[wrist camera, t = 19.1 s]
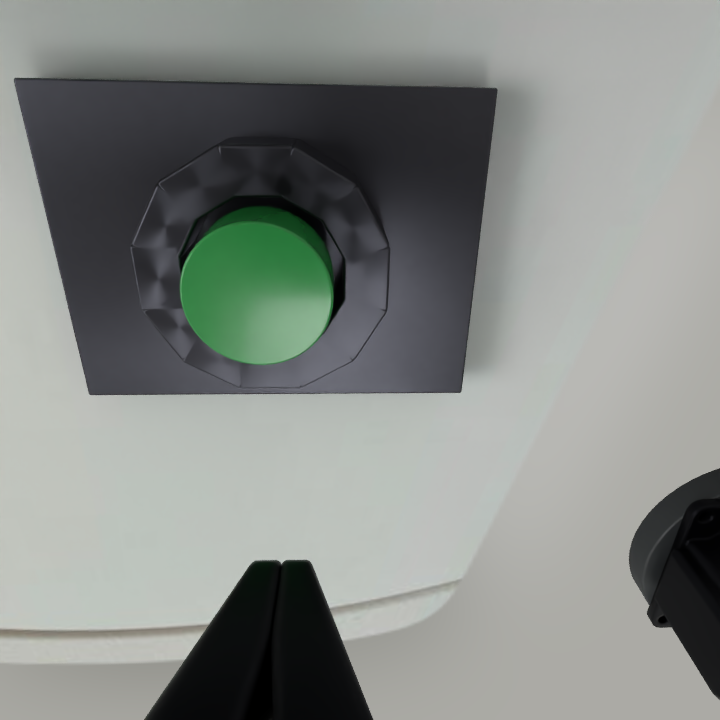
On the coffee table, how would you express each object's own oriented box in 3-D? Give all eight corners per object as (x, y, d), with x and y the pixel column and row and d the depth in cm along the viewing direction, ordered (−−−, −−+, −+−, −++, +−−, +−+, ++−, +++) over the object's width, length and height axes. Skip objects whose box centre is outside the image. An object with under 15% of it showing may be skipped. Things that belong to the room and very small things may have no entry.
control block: (486, 87, 15) (520, 88, 12) (454, 375, 19) (474, 423, 16) (36, 78, 14) (-32, 77, 12) (103, 377, 18) (64, 427, 16)
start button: (333, 206, 14) (333, 222, 12) (333, 336, 15) (333, 365, 14) (187, 204, 14) (168, 220, 12) (203, 336, 15) (189, 366, 14)
